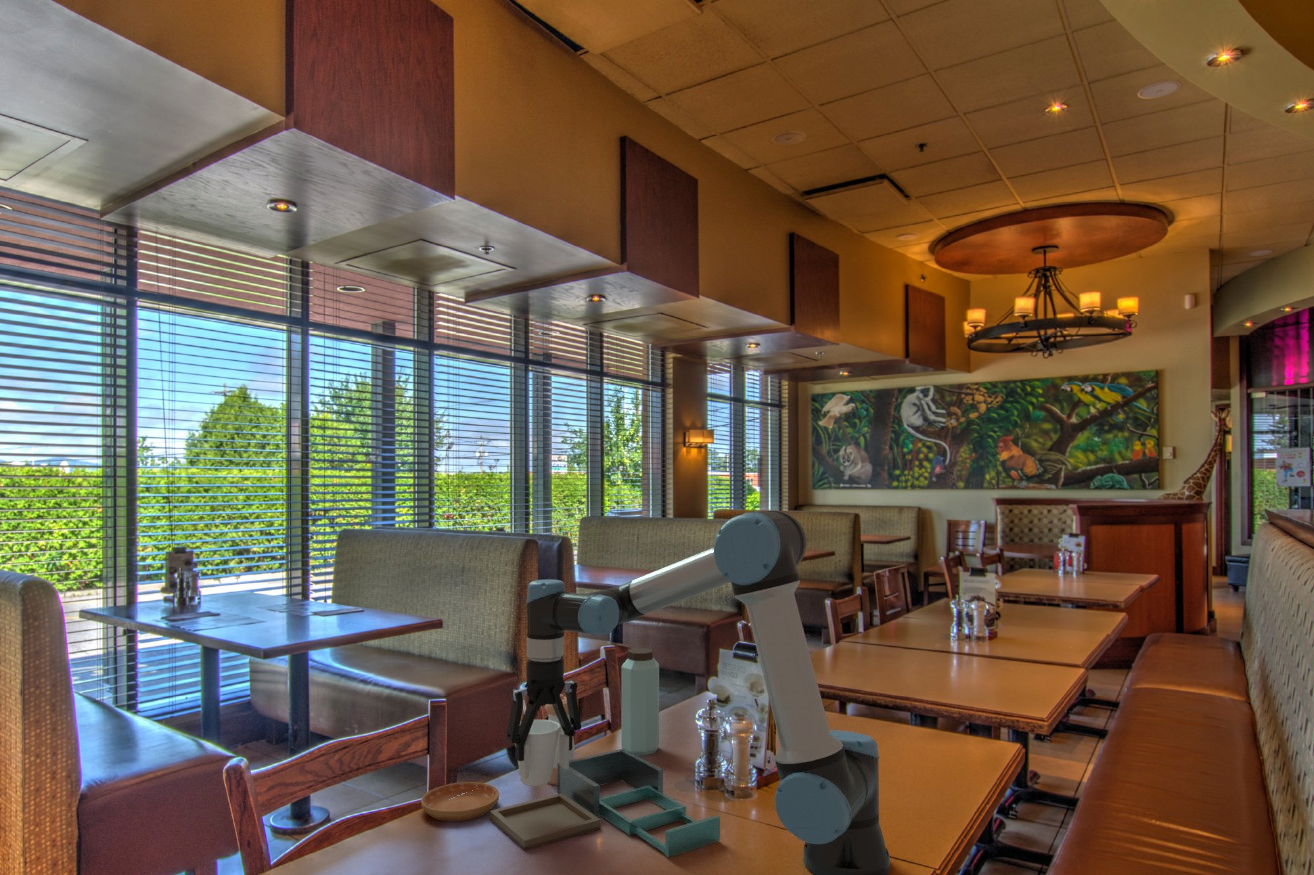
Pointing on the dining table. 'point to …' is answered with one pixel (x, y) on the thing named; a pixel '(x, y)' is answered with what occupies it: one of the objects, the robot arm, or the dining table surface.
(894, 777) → the dining table surface
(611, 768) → the cubby
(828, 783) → the robot arm
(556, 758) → the pepper shaker
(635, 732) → the water bottle
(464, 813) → the saucer
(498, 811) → the tray
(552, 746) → the cup
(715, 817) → the caddy
